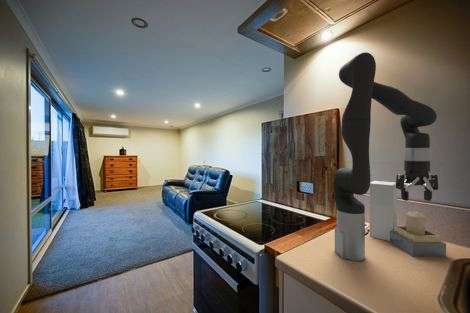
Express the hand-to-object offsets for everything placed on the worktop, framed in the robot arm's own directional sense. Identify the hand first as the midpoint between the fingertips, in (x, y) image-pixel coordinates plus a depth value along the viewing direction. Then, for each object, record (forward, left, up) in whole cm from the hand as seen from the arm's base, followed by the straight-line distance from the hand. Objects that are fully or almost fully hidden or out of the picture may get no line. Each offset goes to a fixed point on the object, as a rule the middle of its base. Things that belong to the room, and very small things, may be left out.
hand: (416, 200), depth 76 cm
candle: (0, 0, -15) cm, 15 cm away
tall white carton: (-4, +12, -20) cm, 24 cm away
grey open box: (0, 0, -20) cm, 20 cm away
